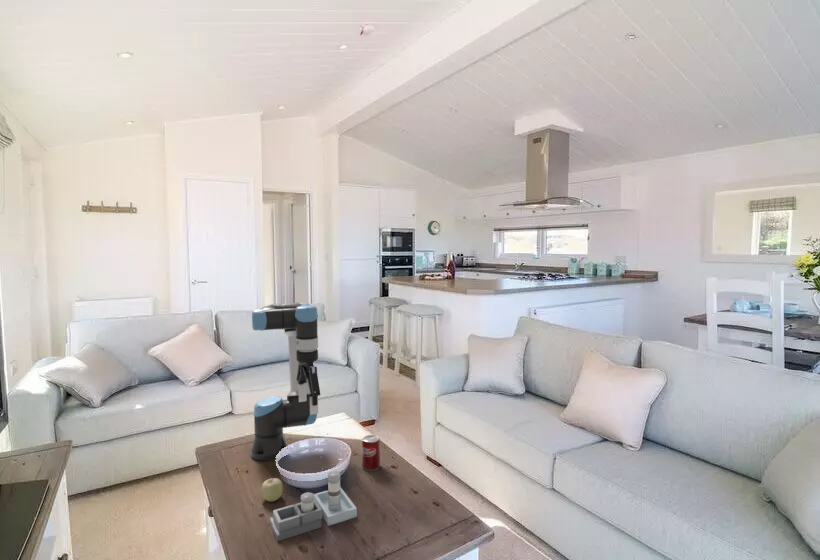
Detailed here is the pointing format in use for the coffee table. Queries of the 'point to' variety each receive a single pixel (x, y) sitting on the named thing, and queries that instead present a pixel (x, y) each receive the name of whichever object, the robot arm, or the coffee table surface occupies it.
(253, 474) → the coffee table surface
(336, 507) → the cylinder
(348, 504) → the tray
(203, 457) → the coffee table surface
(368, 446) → the soda can
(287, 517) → the block
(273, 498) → the fruit
